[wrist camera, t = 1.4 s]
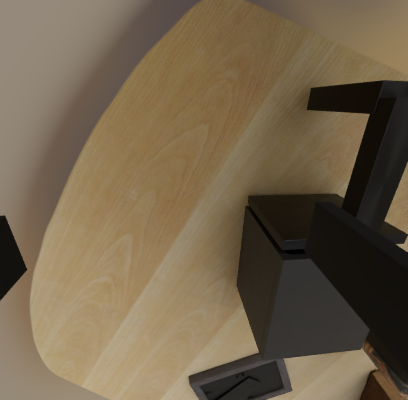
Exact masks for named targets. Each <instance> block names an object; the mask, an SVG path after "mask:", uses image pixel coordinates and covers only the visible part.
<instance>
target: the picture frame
mask: <svg viewBox="0 0 408 400" xmlns="http://www.w3.org/2000/svg"><path fill="white" fill-rule="evenodd" d="M189 383H190V386H191V387H192V389H193V390H194V392H195V393H196V395H197V397H198V398H199V400H266V399H269V398H272V397H275V396H278V395H281V394H284V393H287V392H290V391H292V388H291V384H290V381H289V377H288V374H287V370H286V366H285V363H284V359H275V360H266V361H262V358H261V356H260V353H258V354H255V355H252V356H249V357H246V358H243V359H240V360H237V361H234V362H231V363H228V364H225V365H222V366H219V367H216V368H213V369H210V370H207V371H204V372H201V373H198V374H195V375H192V376H189Z"/></svg>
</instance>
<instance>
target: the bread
mask: <svg viewBox="0 0 408 400" xmlns="http://www.w3.org/2000/svg"><path fill="white" fill-rule="evenodd" d="M361 400H407V399H404V398H403V397H401V396H400V395H399V394H398V393H397V392H396V391H395V389H394V388H393V387H392V386H391V385H390V383H389V382H388V381H387V380H386V378H385V377H384V376H383V375H382V373H381V372H380V371H379V370H377V371H375V372H372V373H371V375H370V377H369V380H368V382H367V385H366V388H365V390H364V392H363V395H362V397H361Z"/></svg>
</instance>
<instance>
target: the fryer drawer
mask: <svg viewBox="0 0 408 400" xmlns="http://www.w3.org/2000/svg"><path fill="white" fill-rule="evenodd" d="M307 110H316V111H332V112H349V113H365V114H370V115H369V119H368V122H367V125H366V129H365V132H364V135H363V138H362V142H361V145H360V148H359V152H358V155H357V158H356V162H355V165H354V168H353V171H352V175H351V178H350V181H349V185H348V188H347V191H346V195H345V198H343V197H341V196H339V195H337V194H311V195H266V196H249V197H248V204H249V205H250V207H251V208H252V210H253V211H254V212H255V214H256V215H257V216H258V218H259V219H260V221H261V222H262V223H263V225H264V226H265V227H266V229H267V230H268V232H269V233H270V234H271V236H272V237H273V238H274V240H275V241H276V242H277V244H278V245H279V247H280V248H281V249H282V250H285V251H286V252H287V254H305V252H304V249H305V245H306V241H307V236H308V232H309V228H310V224H311V219H312V215H313V211H314V207H315V202H332V203H334V204H335V205H337V206H338V207H340V208H341V209H343V210H344V211H346V212H347V213H349V214H350V215H352V216H353V217H355V218H356V219H358V220H359V221H361V222H363V223H364V224H366V225H367V226H369V227H370V228H372V229H373V230H375V231H376V232H378V233H379V234H381V235H382V236H384V237H385V238H387V239H388V240H390V241H391V242H393V243H394V244H404V242H405V240H406V238H407V236H408V234H406V233H405V232H403V231H401V230H399V229H397V228H396V227H394V226H392V225H390V224H389V223H387V222H385V221H384V220H385V217H386V215H387V212H388V210H389V207H390V205H391V202H392V200H393V197H394V195H395V192H396V190H397V187H398V185H399V182H400V180H401V177H402V175H403V172H404V170H405V167H406V165H407V162H408V81H387V80H383V81H373V82H363V83H353V84H344V85H334V86H324V87H315V88H311V90H310V95H309V100H308V105H307Z"/></svg>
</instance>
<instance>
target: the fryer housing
mask: <svg viewBox="0 0 408 400" xmlns="http://www.w3.org/2000/svg"><path fill="white" fill-rule="evenodd" d="M237 288H238V291H239V294H240V297H241V300H242V303H243V306H244V309H245V312H246V315H247V318H248V321H249V324H250V327H251V329H252V332H253V335H254V338H255V341H256V344H257V347H258V350H259V353H260V356H261V358H262V361H266V360H275V359H283V358H292V357H300V356H309V355H317V354H326V353H334V352H343V351H351V350H360V349H361V347H362V345H363V343H364V341H365V339H366V337H367V335H368V333H369V331H370V329H369V328H368V327H367V326H366V325H365V323H364V322H363V321H362V320H361V319H360V317H359V316H358V315H357V314H356V313H355V312H354V310H353V309H352V308H351V307H350V306H349V304H348V303H347V302H346V301H345V300H344V298H343V297H342V296H341V295H340V294H339V292H338V291H337V290H336V289H335V288H334V286H333V285H332V284H331V283H330V282H329V281H328V279H327V278H326V277H325V276H324V275H323V273H322V272H321V271H320V270H319V269H318V267H317V266H316V265H315V264H314V263H313V261H312V260H311V259H310V258H309V257H308V255H307V254H306V253H305V254H287V252H286V251H285V250H282V249H281V248H280V247H279V245H278V244H277V242H276V241H275V240H274V238H273V237H272V236H271V234H270V233H269V232H268V230H267V229H266V227H265V226H264V225H263V223H262V222H261V221H260V219H259V218H258V216H257V215H256V214H255V212H254V211H253V210H252V208H251V207H250V206H246V207H245V216H244V225H243V234H242V242H241V251H240V260H239V269H238V278H237Z"/></svg>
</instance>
